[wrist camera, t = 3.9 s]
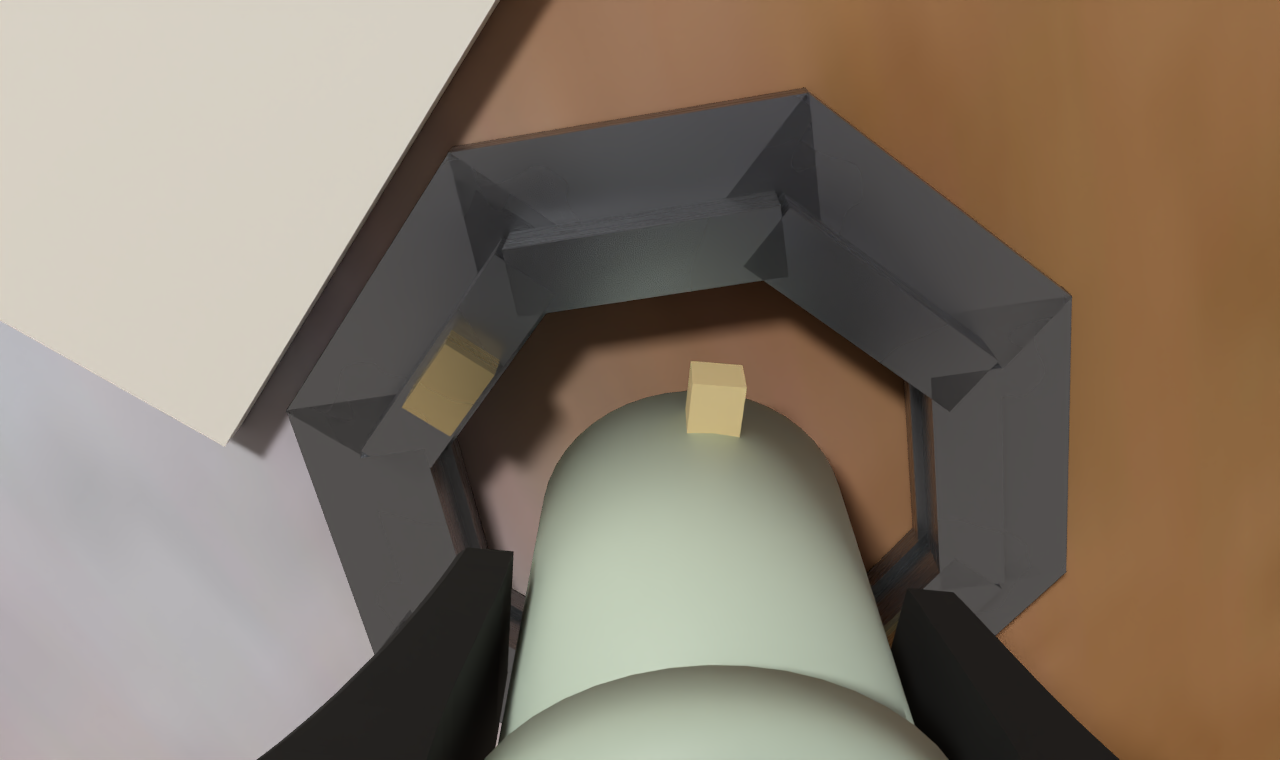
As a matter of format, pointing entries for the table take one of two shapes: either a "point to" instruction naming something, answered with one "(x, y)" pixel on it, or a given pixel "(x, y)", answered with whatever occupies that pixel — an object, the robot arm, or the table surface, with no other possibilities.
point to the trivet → (201, 175)
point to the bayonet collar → (682, 262)
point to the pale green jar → (701, 597)
